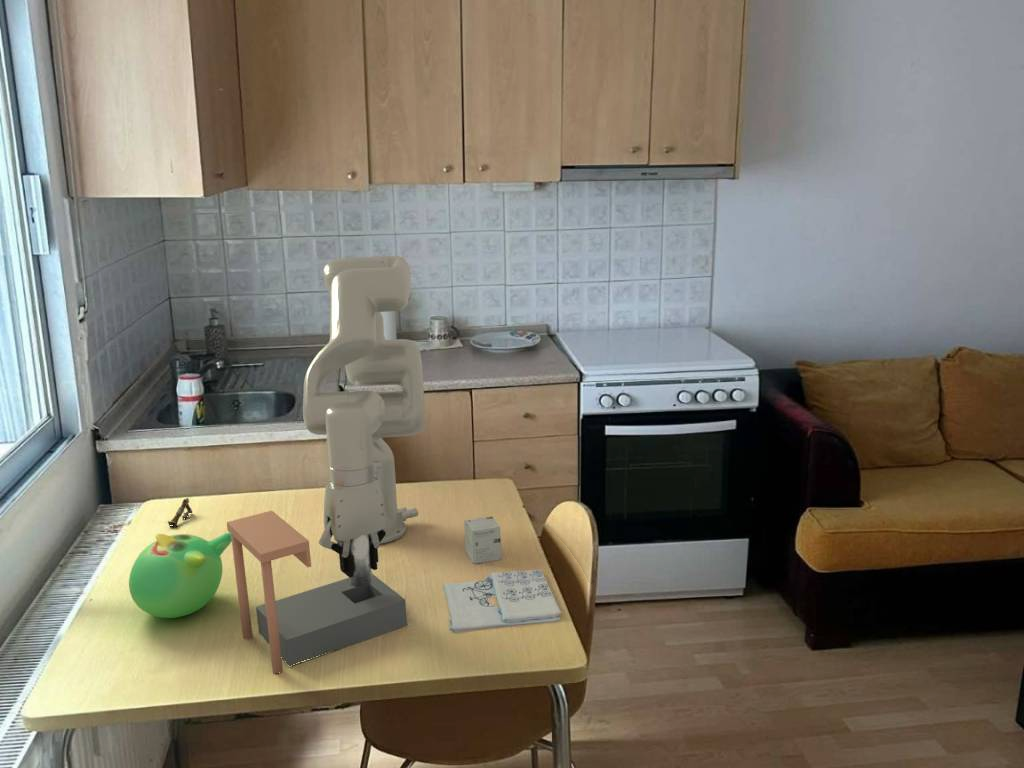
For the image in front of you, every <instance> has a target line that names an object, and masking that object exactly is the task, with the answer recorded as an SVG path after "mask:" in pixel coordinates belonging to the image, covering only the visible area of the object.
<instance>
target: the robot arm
mask: <svg viewBox="0 0 1024 768" xmlns="http://www.w3.org/2000/svg"><path fill="white" fill-rule="evenodd" d="M323 280H324V285H325V288H326V290H327V292H328V294H329V297H330V305H329V306H330V307H329V308H330V315H329V316H330V318H329V321H330V322H329V324H330V325H329V341H328V342H327V344H326V345H324V346H323V348H321V349H320V351H319V352H317V354H316V355H315V356H314V357H313V359H312V361H311V362H310V364H309V367H308V368H307V370H306V373H305V376H304V380H303V381H304V382H303V392H302V393H303V397H302V399H303V400H302V419H303V424H304V426H305V428H306V430H307V431H308V432H310V434H314V435H318V436H321V435H323V436H326V444H327V454H328V456H327V457H328V465H329V479H330V481H328V482H327V483H326V484H325V489H324V498H323V524H324V525H323V526H324V530H323V532H322V534H321V536H320V538H319V540H318V544H319V545H320V546H321V547H322V548H326V549H328V550H332V551H333V552H335V553H336V554H338V556H339V557H338V559H339V567H340V568H339V569H340V571H341V573H343V574H344V575H345V576H347V578H351V577H353V576H354V574H353V562H352V556H350V555H349V547H350V540H351V539H355V538H357V537H360V536H361V535H369V544H370V557H371V570H373V571H376V570H378V563H379V550H378V549H379V548H380V547H381V545H382V544H386V543H390V542H394V541H396V540H398V539H400V538H401V537H403V536H404V535H405V534H406V532H407V527H406V526H407V525H406V523H405V521H407V519H412V518H416V517H418V516H419V510H418V509H417V507H413V508H409V509H408V507H406V506H403V507H401V508H398V497H397V485H396V483H397V482H396V470H395V469H396V468H395V467H396V466H395V456H394V453H393V451H392V449H391V448H390V445H388V444H387V442H385V440H384V439H383V438H390V437H391V438H392V437H393V438H394V437H406V436H407V437H408V436H415V435H419V434H420V433H422V431H423V430H424V428H425V425H426V424H425V423H426V408H425V405H426V404H425V393H424V376H423V363H422V355H421V350H420V348H419V346H418V343H416V342H415V341H413V340H411V339H405V338H401V339H400V338H399V339H386V338H385V331H384V330H385V329H384V328H385V327H384V316H383V314H382V313H384V312H385V313H386V312H389V313H390V312H399V311H403V310H404V309H406V307H407V306H408V304H409V303H408V302H409V300H410V299H409V298H410V292H411V290H410V289H411V286H412V273H411V267H410V264H409V262H408V260H407V259H406V258H405V257H403V256H399V255H398V256H397V255H395V256H394V255H393V256H390V255H389V256H360V257H359V256H357V257H356V256H355V257H354V256H353V257H343V258H337V259H333V260H331V261H330V260H329V262H327V263H326V264H325V265H324V267H323ZM343 367H345V368H344V369H345V374H346V377H347V380H348V382H349V383H350V384H352V385H354V386H358V387H373V386H375V387H377V386H399V387H400V388H401V389H402V390H397V391H395V390H394V391H372V390H355V391H354V390H353V391H351V390H349V391H347V390H344V391H327V392H321V388H322V386H323V384H324V382H325V381H326V379H327V378H328V377H329V376H331V375H332V374H333V373H334V372H336V371H339V369H342V368H343ZM332 537H333V539H334V540H332Z"/></svg>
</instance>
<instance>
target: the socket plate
mask: <svg viewBox="0 0 1024 768" xmlns="http://www.w3.org/2000/svg"><path fill="white" fill-rule="evenodd" d="M275 602H276V612H277V621H278V630H279V640H280V649H281V657H282V660H284V661H286V663H287V664H288V665H289V666H291V665H293V664H296V663H298V662H301V661H304V660H307V659H311V658H313V657H316V656H319V655H322V654H325V653H328V652H331V651H334V650H336V651H338V650H337V649H339V650H341V649H340V648H342V649H344V648H343V647H345V648H347V647H346V646H348V647H349V645H350V646H353V645H355V643H356V644H359V643H362V642H364V641H367V640H369V639H373V638H375V637H378V636H381V635H383V634H387V633H389V632H391V631H395V630H398V629H401V628H403V627H407V626H408V621H407V620H408V618H407V605H406V603H407V601H406V599H405V598H404V597H403V596H401V595H400V594H399V593H397V591H395V590H393V588H392V587H390V586H389V585H387V583H385V582H384V581H382V580H381V579H380V578H379V577H377V576H376V575H375V574H374V573H372V583H371V584H369V585H367V586H364V587H354V586H351V585H350V582H349V577H346V578H344V579H341V580H338V581H334V582H331V583H327V584H324V585H322V586H318V587H315V588H313V589H309V590H306V591H303V592H299V593H296V594H292V595H290V596H287V597H283V598H279V599H277V600H275ZM255 611H256V618H257V628H258V629H257V630H258V634H260V636H261V635H262V636H263V637H264V638H263V637H262V636H261V637H262V638H263V639H264V640H265V642H266V643H267V644H268V643H269V644H270V642H269V633H268V624H267V615H266V606H265V603H264V604H261V605H258V606H255ZM269 644H268V645H269ZM352 644H353V645H352ZM334 652H335V651H334ZM331 653H332V652H331ZM328 654H329V653H328ZM325 655H326V654H325ZM322 656H323V655H322ZM311 660H312V659H311ZM284 661H283V662H284ZM286 663H285V664H286ZM287 664H286V665H287ZM288 665H287V666H288ZM289 666H288V667H289Z"/></svg>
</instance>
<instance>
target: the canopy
mask: <svg viewBox="0 0 1024 768" xmlns="http://www.w3.org/2000/svg"><path fill="white" fill-rule="evenodd" d="M226 527H227V528H226V529H227V531H228V532H230V533H231V539H232V542H231V546H232V547H231V548H232V554H233V562H234V570H235V581H236V587H237V596H238V606H239V614H240V622H241V632H242V638H243V639H245V638H248V639H251V638H252V637H253V630H252V629H253V627H252V620H251V611H250V602H249V594H248V585H247V584H248V583H247V575H246V570H245V569H246V568H245V560H244V559H245V557H244V552H243V547H244V548H246V550H248V552H250V554H252V555H253V556H254V557H255V558H256V559H257V560H258V561H259V563H260V568H261V578H262V587H263V594H264V595H263V596H264V604H265V606H266V615H267V624H268V633H269V642H270V645H269V651H270V658H271V666H272V667H271V668H272V674H274V673H279V672H282V671H284V667H283V661H282V660H283V659H282V658H281V649H280V640H279V630H278V621H277V612H276V602H275V601H276V595H275V585H274V575H273V568H272V567H273V566H272V561H275V560H278V559H281V558H284V557H288V556H289V557H290V556H294V557H295V558H297V559H298V561H300V563H302V564H304V565H305V566H306V568H311V567H312V561H311V551H310V550H311V547H310V540H308V538H306V537H305V536H304V535H302V534H301V533H300V532H299V531H298V530H296V529H295V528H294V527H293V526H291V525H290V524H289V523H288V522H287V521H285V520H284V519H283V518H282V517H280V516H279V515H278V514H277V513H276V512H275V511H273V510H268V511H265V512H261V513H257V514H253V515H249V516H245V517H242V518H238V519H234V520H230V521H226ZM250 637H251V638H250ZM282 673H283V672H282Z"/></svg>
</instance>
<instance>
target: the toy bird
mask: <svg viewBox="0 0 1024 768" xmlns="http://www.w3.org/2000/svg"><path fill="white" fill-rule="evenodd" d="M155 539H156V541H153V542H152V543H151V544H149V545H147V546H146V547H145V548H144V549H143V550H142V551H141V552H140V553H139V554H138V556H137V557H136V559H135V560H134V563H133V565H132V567H131V570H130V573H129V577H128V588H129V593H130V596H131V598H132V600H133V602H134V604H135V605H136V606H137V607H138V608H139V609H140V610H141V611H143V612H144V613H146V614H149V615H151V616H153V617H157V618H162V619H174V618H176V619H177V618H181V617H185V616H187V615H190V614H193V613H195V612H197V611H199V610H200V609H202V608H204V607H205V606H206V605H208V603H209V602H210V601H211V599H212V598H213V597H214V596H215V594H216V592H217V591H218V589H219V586H220V584H221V580H222V576H223V562H222V558H221V556H222V554H223V553H224V551H225V550H226V549H227V548H228V547H229V545H230V544H232V539H231V533H230V532H229V531H228V532H226V533H224V534H222V535H220V536H219V535H218V536H217V537H215V538H213V539H211V540H209V541H208V540H207V539H204V538H202V537H200V536H197V535H194V534H172V535H167V534H164V533H157V534H156V535H155Z"/></svg>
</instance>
